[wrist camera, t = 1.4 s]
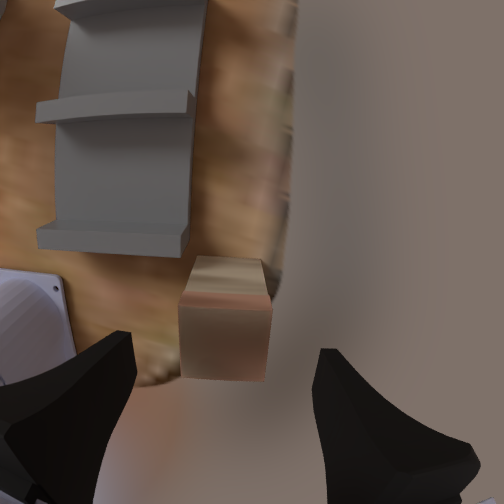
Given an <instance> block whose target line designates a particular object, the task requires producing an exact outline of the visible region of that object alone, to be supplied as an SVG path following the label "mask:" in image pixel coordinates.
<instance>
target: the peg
mask: <svg viewBox="0 0 504 504" xmlns="http://www.w3.org/2000/svg"><path fill="white" fill-rule="evenodd" d="M272 311H273V309H272V305H271V300H270V295H268V292H267V287H266V283H265V278H264V273H263V268H262V264H261V259H254V258H236V257H218V256H200V255H197V258H196V260H195V263H194V266H193V269H192V271H191V274H190V277H189V280H188V282H187V285H186V288H185V291H183V292H182V295H181V298H180V301H179V303H178V323H179V346H180V365H181V377H183V378H195V379H210V380H227V381H254V382H255V381H256V382H257V381H258V382H264V378H265V370H266V362H267V354H268V345H269V338H270V329H271V320H272Z"/></svg>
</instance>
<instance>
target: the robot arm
mask: <svg viewBox="0 0 504 504" xmlns="http://www.w3.org/2000/svg"><path fill="white" fill-rule="evenodd" d="M55 286H57V287H58V289H59V290H57V289H56V287H55ZM136 376H137V367H136V362H135V356H134V349H133V343H132V336H131V332H125V331H119V330H117V331H115V332H113V333H111V334H110V335H108V336H106V337H105V338H103V339H102V340H100V341H99V342H97V343H96V344H94V345H93V346H91V347H89V348H88V349H86V350H85V351H83V352H82V353H80V354H78V355H77V353H76V349H75V345H74V341H73V336H72V332H71V327H70V322H69V317H68V312H67V306H66V300H65V294H64V288H63V281H62V279H61V277H60V276H59V275H56V274H47V273H38V272H29V271H20V270H12V269H4V268H0V504H93V498H94V493H95V488H96V483H97V479H98V475H99V471H100V467H101V463H102V460H103V457H104V453H105V450H106V447H107V444H108V441H109V439H110V436H111V434H112V432H113V430H114V428H115V426H116V424H117V421H118V419H119V417H120V415H121V413H122V411H123V409H124V407H125V405H126V403H127V401H128V398H129V396H130V394H131V392H132V389H133V386H134V382H135V379H136ZM312 397H313V408H314V414H315V419H316V424H317V429H318V433H319V438H320V442H321V447H322V451H323V456H324V462H325V470H326V484H327V503H328V504H461V502H462V499H461V497H460V492H462V491H463V489H465V487H466V486H467V485H468V484H469V483H470V482H471V481H472V480H473V479H474V478H475V476H476V475H477V474H478V471H479V469H480V467H481V465H480V461H479V459H478V457H477V455H476V454H475V452H474V450H473V448H472V446H471V445H470V444H469V443H466V442H463V441H460V440H457V439H454V438H452V437H449V436H446V435H444V434H442V433H439V432H437V431H435V430H433V429H431V428H429V427H427V426H425V425H423V424H421V423H420V422H418V421H416V420H415V419H413V418H411V417H410V416H408V415H406V414H405V413H404V412H402V411H401V410H399V409H398V408H397V407H395V406H394V405H393V404H391V403H390V402H389V401H387V400H386V399H385V398H384V397H383V396H382V395H380V394H379V393H378V392H377V391H376V390H375V389H374V388H373V387H371V385H369V383H368V382H366V380H364V378H363V377H362V376H361V375H360V374H359V373H358V372H357V371H356V370H355V369H354V368H353V367H352V365H351V364H350V363H349V362H348V361H347V360H346V359H345V358H344V356H343V355H342V354H341V353H340V352H339V351H338V350H337V349H324V348H323V349H322V348H321V350H320V355H319V360H318V364H317V368H316V373H315V377H314V381H313V385H312ZM477 504H496V502H495V500H494V498H493V497H490V498H488V499H486V500H484V501H481V502H479V503H477Z"/></svg>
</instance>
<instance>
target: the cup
mask: <svg viewBox="0 0 504 504" xmlns="http://www.w3.org/2000/svg"><path fill="white" fill-rule="evenodd" d="M6 4H7V0H0V19H1V17H2V15H3V14H4V12H5V8H6Z"/></svg>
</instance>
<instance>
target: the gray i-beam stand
mask: <svg viewBox="0 0 504 504" xmlns="http://www.w3.org/2000/svg"><path fill="white" fill-rule="evenodd" d="M207 5H208V0H56V2H55V6H54V9H55V10H57V11H58V12H60V13H61V14H63V15H64V16H66V17H67V18H69V19H70V20H71V24H70V28H69V33H68V38H67V43H66V48H65V54H64V60H63V67H62V73H61V81H60V89H59V98H58V99H55V100H49V101H43V102H37V106H36V117H35V123H45V124H56V139H55V204H56V220H55V221H52V222H50V223H48V224H46V225H44V226H42V227H40V228H38V229H36V231H37V241H38V249H50V250H64V251H79V252H94V253H109V254H125V255H141V256H157V257H174V258H181V256H182V254H183V252H184V250H185V248H186V246H187V244H188V242H189V240H190V210H191V184H192V164H193V146H194V131H195V117H196V105H197V93H198V82H199V72H200V62H201V53H202V44H203V35H204V27H205V19H206V12H207Z"/></svg>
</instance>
